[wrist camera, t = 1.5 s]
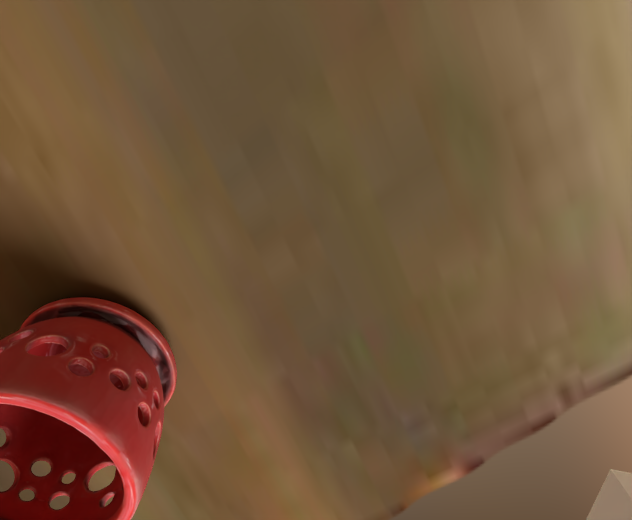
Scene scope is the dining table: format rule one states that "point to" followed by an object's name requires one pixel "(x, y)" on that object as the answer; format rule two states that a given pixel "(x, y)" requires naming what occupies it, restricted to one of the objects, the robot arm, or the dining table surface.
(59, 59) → the dining table surface
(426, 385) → the dining table surface
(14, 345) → the plant pot
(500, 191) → the dining table surface
